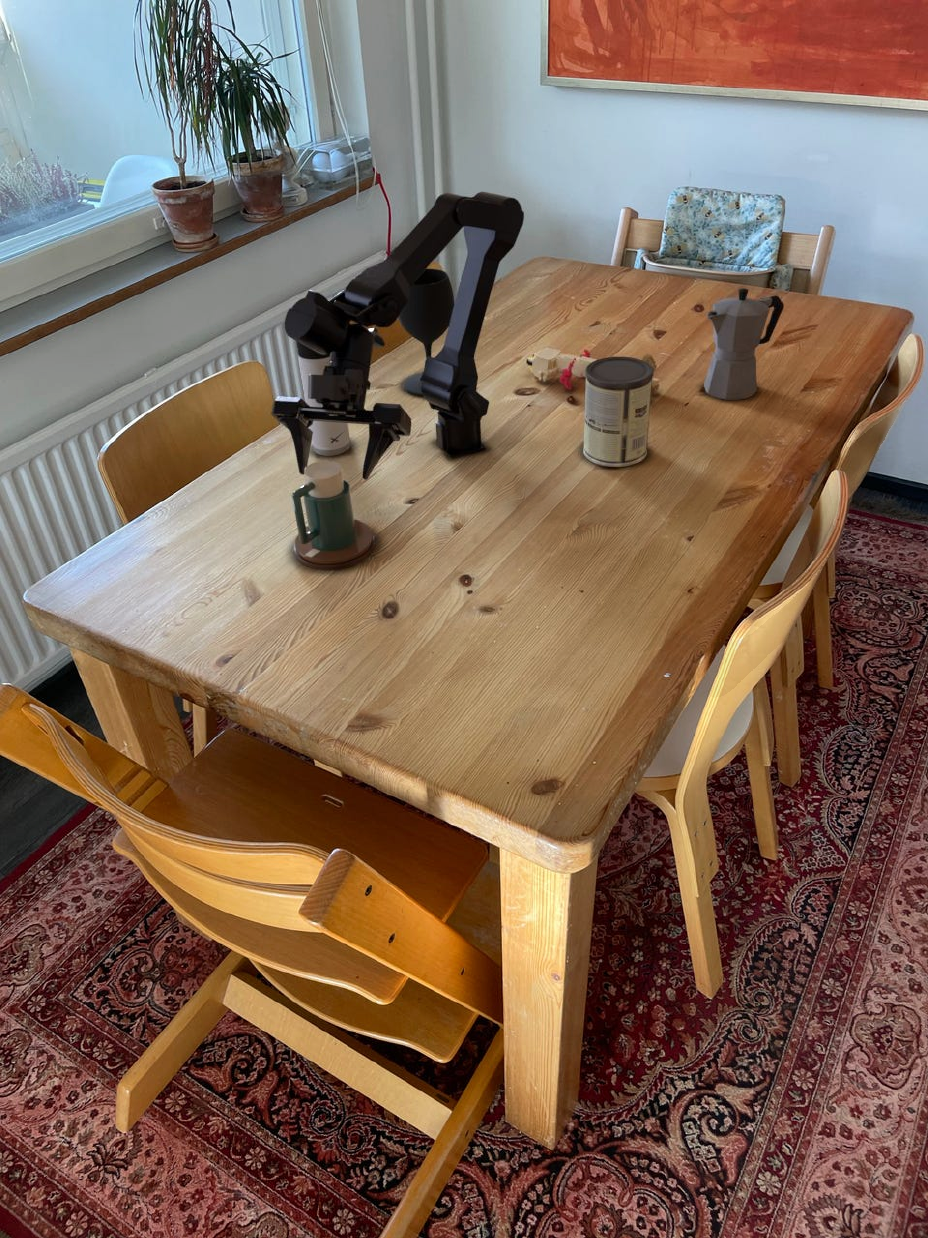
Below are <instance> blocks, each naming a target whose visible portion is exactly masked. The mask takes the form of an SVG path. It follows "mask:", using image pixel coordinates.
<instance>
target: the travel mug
mask: <svg viewBox="0 0 928 1238" xmlns="http://www.w3.org/2000/svg"><path fill="white" fill-rule="evenodd" d="M295 342H296V350H297V351H296V352H297V357H298V360H297V361H298V365H299V371H300V377H301V383H302V384H301V385H302V389H303V395H304V401H305V402H306V403H307V404H308V405H309V406H310V407H322V406H323V405H322V404H318V403H317V402H316V401H315V400H316V399H308V377H309V374H311V375H323V370H324V368H325V366H329V360H330V354H326V355H322V354H320V353H318V352H316V351H314V350H312V349H310V348H309V347H307V346H305V345H303V344H301V343H299V342H297V341H296V340H295ZM329 415H330V414H329ZM332 416H333V415H332ZM346 417H347V416H346ZM309 429H310V430H311V431H313V436H312V442H311V446H312V450H313V451H314V453H316V454H318V455H320V456H325V457H332V456H338V455H342V454H343V453H346V452H347V451H348V450H349V449H350V448H351V437H350V431H349V423H338V422H324V421H313V424H312V425H311V426H310V427H309Z"/></svg>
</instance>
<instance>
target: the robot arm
mask: <svg viewBox="0 0 928 1238" xmlns="http://www.w3.org/2000/svg"><path fill="white" fill-rule="evenodd" d="M524 220H525V211H523V209H522V205H521V203H520V202H519V200H518V199H516V198H515V197H511V196H507V195H501V194H496V193H493V192H488V191H480V192H477V193H476V194H475V195H473V196H465V195H459V194H456V193H451V192H444V193H442V194H441V193H440V195H439V196H437V198H436V200H435V202H434V205H433V206H432V207H431V209H430V210H428V212H427V213H426V214H425V215H424V216H423V217H422V219H421V220H420V221H419V222H418V223H417V224H416V225H415V226H414V227H413V228H412V230H411V231H410V232H409V233H408V234H407V235H406V236H405V238H404V239H402V241H401V242H400V243H399V244H398V245H397V246H396V248H395V249H393V251H392V252H391V253H390V254H389V255H388V257H386V258H385V259H384V260H383V261H380V262H378V263H376V264H373V265H371V266H369V267H367V268H365V269H363V271H361V272H360V273H359V274H357V275H356V276H355V277H353V278H352V279H351V280H350V281H349V282H348V284H347V285H346V286H345V289H343V290H341V291H340V292H339V293H337V294H336V295H334V296H333V297H331V298H330V299H328V298H326V297H325V295H324V294H321V293H320V292H318V291H315V290H312V289H308V290H307V293H306V295H305V297H302V298H300V299H298V300H297V301H296V302H295V303H294V304H293V305H292V306H291V308H288V310H287V313H286V315H285V318H284V330H285V333H286V336H288V337H289V338H290V339H292V340H293V341H295V342H296V341H297V342H299V343H301V344H303V345H305V346H307V347H309V348H310V349H312V350H314V351H316V352H318V353H320V354H322V355H326V354H330V360H329V366H325V368H324V370H323V375H311V374H309V377H308V399H316V400H315V401H316V402H317V403H318V404H322V405H323V406H322V407H310V406H309V405H308V404H307V403H306V402H305V399H303V398H301V397H292V396H291V397H290V396H277V398H276V399H275V400H274V401H273V402H272V405H271V411H270V415H271V416H272V417H273V418H274V419H276V420H277V421H278V422H279V423H280V424H281V425H283V426H284V427H285V428H286V429H288V431H289V433H290V436H291V439H292V442H293V446H294V452H295V457H296V464H297V468H298V473H299V474H300V475H303V476H305V473H304V471H305V469H306V467H307V466H309V465H308V464H309V458H310V454H311V453H310V452H311V447H312V436H313V431H311V430H310V426H311V425H312V424H313V421H324V422H338V423H348V424H355V425H368V442H367V446H366V451H365V456H364V460H363V466H362V473H361V474H362V477H361V478H362V480H365V481H367V480H368V479H369V477H370V476H371V474H372V473H373V471H374V469H375V468H376V466H377V464H378V463H379V462H380V460H381V458H382V457H383V456H384V454H385V453H386V452H387V451H388V449H389V448H390V447H391V446H392V445H393V443H394V442H400V441H401V437H408V436H411V431H412V417H410V415H409V414H408V413H407V411H406V410H405V409H404V408H403V406H402V405H401V404H400V403H387V402H385V403H384V402H375V404H374V405H373V407H372V410H370V409H366V408H365V404H366V399H367V392H368V390H371V381H370V380H369V378H370V371H371V365H372V359H373V351H374V349H379V348H383V347H385V346H386V343H385V341H384V339H383V337H382V336H381V335H380V334H379V331H378V329H377V327H378V328H389V327H391V326H392V325H394V324H395V322H396V321H397V320H398V317H399V315H400V314H401V312H402V311H403V309H404V308H405V306H406V304H407V303H408V300H409V295H410V289H411V287H412V285H413V284H414V282H415V281H416V280H417V279H418V278H419V276H420V275H421V274H422V273H423V272H424V271H425V270H426V269H428V268H429V266H430V265H432V263H433V262H434V261H435V259H436V258H437V257H439V255H440V254H441V253H442V252H443V250H444V249H445V248H446V247H447V246H448V245H449V244H450V243H451V242H452V241H453V239H454V238H455V237H456V236H457V235H458V234H459V233H460V231H461V230H462V229H463V237H464V241H465V246H466V251H467V255H466V259H465V262H464V266H463V270H462V274H461V279H460V281H459V286H458V288H457V289H458V290H457V292H456V296H455V297H456V298H455V300H454V308H453V312H452V316H451V320H450V324H449V327H448V328H447V330H446V336H445V340H444V343H443V346H442V348H441V350H439V352H438V353H437V354H436V355H435V356H434V357H432V356H431V357H430V356H428V357H427V359H425V361H424V368H423V371H422V372H423V375H422V377H421V378H420V381H421V382H422V386H421V393H422V394H423V396H422V397H423V398H424V400H425V401H426V402H427V403H428V405H429V407H430V409H431V410H435V411H437V421H435V438H436V439H435V444H436V446H438V447H439V448H440V449H441V451H443V452H444V453H445V455H447V456H448V457H449V458H451V459H452V458H456V457H460V456H465V455H469V454H472V453H475V452H476V453H477V452H480V451H484V450H486V449H487V448H486V447H487V446H486V444H485V443H483V442H482V426H481V421H482V418H483V417H484V416H487V415H488V411H489V406H490V401H489V400H488V399H487V398H486V397H484V396H483V395H482V394H480V393H479V392H478V391H477V387H478V381H479V375H478V370H477V366H476V361H475V354H476V351H477V347H478V343H479V339H480V336H481V332H482V328H483V324H484V322H485V318H486V313H487V310H488V306H489V302H490V299H491V295H492V292H493V288H494V283H495V280H496V277H497V273H498V269H499V265H500V262H501V261H502V260H503V259H504V258H505V257H506V256H507V255H508V253H510V252H511V250H513V248H514V247H515V245H516V243H517V240H518V238H519V235H520V232H521V231H522V227H523V225H524ZM350 322H353V323H350ZM371 326H375V327H373V328H367V327H371ZM329 414H330V415H329ZM332 415H333V416H332ZM346 416H347V417H346Z"/></svg>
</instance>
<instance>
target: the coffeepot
mask: <svg viewBox="0 0 928 1238" xmlns="http://www.w3.org/2000/svg"><path fill="white" fill-rule="evenodd" d="M737 292H738V297H724V298H722V299H720V300H718V301H716V302H714V303H713V304H712V309H711V310H709V311H708V312H707V314H706V318H707V319H709V320H710V322H711V324H712V326H713V343H714V345H715V350H714V352H713V354H712V356H711V359H710V363H709V366H708V369H707V372H706V376H705V379H704V383H703V387H704V390H705V393H707V394H708V396H711V397H713V398H715V399H718V400H719V399H720V400H725V401H741V400H745V399H748V398H750V397H752V396H753V395H754V394H755V393H756V392H757V389H758V388H757V358H756V354H755V353H756V349H757V347H759V346H760V345H764V344H767V343H769V342H770V340H771V338H772V336H773V333H774V331H775V330H776V327H777V324H778V323H779V319H780V317H781V315H782V313H783V311H784V308H785V307H784V306H785V304H784V302H783V301H782V299H781V297H780V296H779V295H777V294H775V295H771V296H763V297H760V298H759V299H755V298H751V297H748V293H749V289H748V288H745V287H743V288H739V289H738V291H737ZM771 308H773V309H772V311H771ZM770 311H771V315H770V318H769V322H768V323H767V320H768V316H769V314H770ZM766 323H767V325H766ZM765 326H766V328H765ZM764 330H765V333H764ZM763 333H764V336H763ZM762 336H763V337H762Z"/></svg>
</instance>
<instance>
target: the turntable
mask: <svg viewBox="0 0 928 1238" xmlns="http://www.w3.org/2000/svg"><path fill="white" fill-rule="evenodd" d="M372 533H373V542H372V544H371V546H370V548H369V549H368V550H367V551H366V552H365V553H363V554H362V555H360V556H358V557H357V558H354V559H352V560H349V561H345V562H341V563H334V564H321V563H315V562H311V561H308V560H306V559H304V558H302V557H301V556H300V555H299V554H298V553H297V551H296V548H295V541H294V543H293V547H292V549H293V554H294V557H295V559H296V560H297V562H299V564H301V565H303V566H304V567H306V568H309V569H312V570H317V571H339V570H343V569H349V568H351V567H354V566H357V565H360V564H361V563H363V562H364V561H366V560H367V559H369V558H370V557H371V555H372V554H373V553H374V551H375V549H376V546H377V542H376V536H375V533H374V532H373V531H372Z"/></svg>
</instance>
